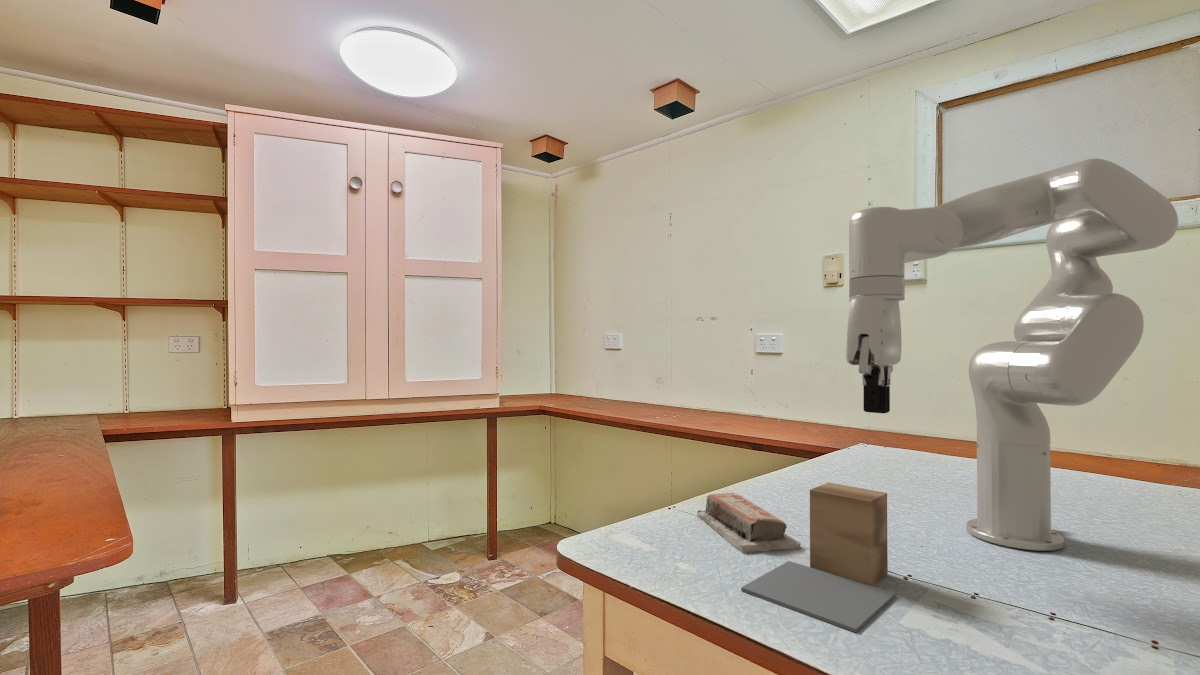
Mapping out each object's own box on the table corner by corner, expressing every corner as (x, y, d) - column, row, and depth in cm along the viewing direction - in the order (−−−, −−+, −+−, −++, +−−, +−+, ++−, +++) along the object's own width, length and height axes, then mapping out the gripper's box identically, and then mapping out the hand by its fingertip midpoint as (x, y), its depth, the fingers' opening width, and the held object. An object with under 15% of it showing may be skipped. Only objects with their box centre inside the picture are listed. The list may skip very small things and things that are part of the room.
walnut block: (829, 557, 80) (828, 482, 80) (887, 574, 74) (887, 492, 74) (810, 569, 76) (809, 489, 76) (870, 588, 70) (870, 501, 70)
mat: (788, 563, 78) (788, 560, 78) (895, 596, 67) (895, 593, 67) (741, 590, 69) (741, 587, 69) (855, 632, 59) (855, 628, 59)
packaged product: (695, 492, 99) (745, 489, 101) (695, 519, 99) (745, 515, 101) (741, 523, 81) (801, 519, 84) (741, 556, 81) (801, 551, 84)
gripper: (869, 296, 91) (869, 406, 91) (830, 289, 81) (830, 414, 80) (919, 293, 86) (919, 410, 85) (885, 285, 75) (885, 419, 75)
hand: (876, 412), depth 83 cm, fingers closed
